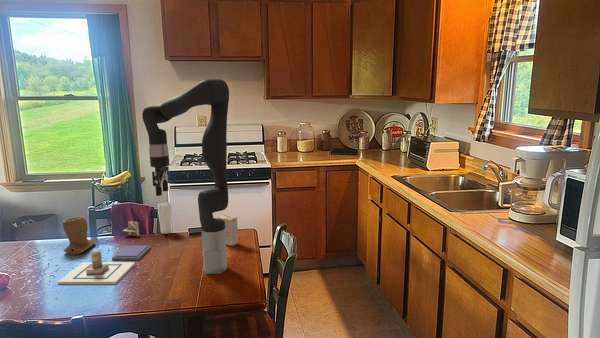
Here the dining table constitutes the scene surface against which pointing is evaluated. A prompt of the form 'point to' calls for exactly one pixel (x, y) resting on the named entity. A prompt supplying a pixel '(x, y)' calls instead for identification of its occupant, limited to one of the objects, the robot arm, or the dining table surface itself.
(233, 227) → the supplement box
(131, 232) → the architectural model
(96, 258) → the stamp
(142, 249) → the pad
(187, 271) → the dining table surface
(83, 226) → the brown bookend
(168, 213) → the tall white block
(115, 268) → the marking board
